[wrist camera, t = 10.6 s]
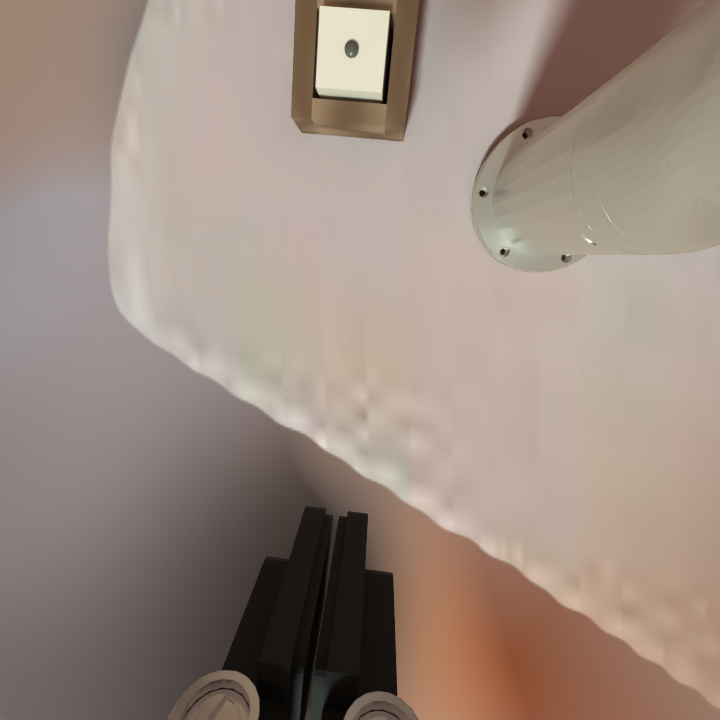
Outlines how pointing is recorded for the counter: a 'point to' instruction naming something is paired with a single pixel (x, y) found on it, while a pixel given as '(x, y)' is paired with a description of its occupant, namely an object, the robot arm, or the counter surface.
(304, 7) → the button board
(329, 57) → the button one
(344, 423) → the counter surface
